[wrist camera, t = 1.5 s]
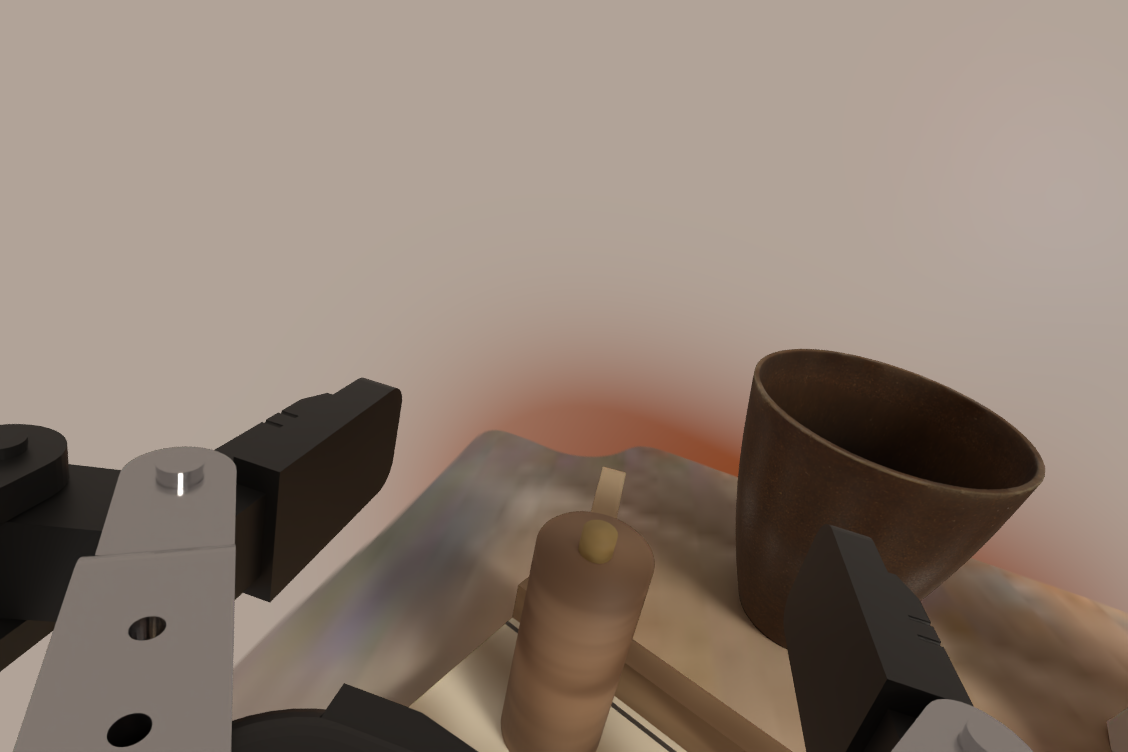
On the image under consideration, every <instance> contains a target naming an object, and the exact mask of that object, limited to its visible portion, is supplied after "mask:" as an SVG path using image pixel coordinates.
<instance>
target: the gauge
mask: <svg viewBox="0 0 1128 752" xmlns="http://www.w3.org/2000/svg"><path fill="white" fill-rule="evenodd" d="M625 475H626V473H625V472H621V471H618V470H614V469H610V468H606V467H603V468H602V472H601V476H600V480H599V483H598V487H597V491H596V494H595V498H594V502H593V506H592V509H591V512H584V511H580V512H569V513H565V514H562V515H559V516H556V517H554V518H552V519H551V520H549V521H548V522H547V523H546V524H545V525H544V526H543V527H542V528H541V530H540V531H539V533H538V536H537V540H536V545H535V550H534V555H533V560H532V565H531V570H530V575H529V580H528V585H527V590H526V595H525V600H524V605H523V610H522V615H521V620H520V625H519V630H518V635H517V640H516V645H515V650H514V655H513V660H512V665H511V670H510V675H509V680H508V685H507V690H506V695H505V700H504V705H503V711H502V716H501V732H502V737H503V740H504V743H505V745H506V747H507V749H508V750H509V752H596V751H597V748H598V745H599V742H600V739H601V736H602V733H603V730H604V726H605V723H606V720H607V717H608V714H609V711H610V708H611V704H612V701H613V698H614V695H615V692H616V689H617V686H618V682H619V679H620V676H621V673H622V670H623V667H624V664H625V660H626V657H627V654H628V651H629V648H630V645H631V642H632V638H633V635H634V632H635V629H636V626H637V623H638V620H639V616H640V613H641V610H642V607H643V604H644V601H645V598H646V594H647V591H648V588H649V585H650V582H651V579H652V576H653V572H654V565H655V562H654V556H653V553H652V551H651V549H650V547H649V545H648V543H647V542H646V541H645V539H644V538H643V537H642V536H641V535H640V534H639V533H638V532H637V531H636V530H634V529H633V528H632V527H630V526H629V525H627V524H626V523H624V522H622V521H620V520H618V519H617V514H618V509H619V504H620V499H621V494H622V490H623V485H624V480H625Z"/></svg>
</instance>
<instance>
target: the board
mask: <svg viewBox="0 0 1128 752" xmlns="http://www.w3.org/2000/svg"><path fill="white" fill-rule="evenodd" d="M528 580H529V577H528V578H526V579H525V580H524V581H523V582H522V583H520V584H519V585H518V591H517V596H516V601H515V606H514V612H513V617H512V618H511V619H510V620H509V621H507V622H506V623H505V624H504V625H503V626H502V627H501V628H500V629H498V630H497V631H496V632H495V633H494V634H493V635H491V636H490V637H489V638H488V639H487V640H486V641H485V642H483V643H482V644H481V645H480V646H479V647H478V648H476V649H475V650H474V651H473V652H472V653H471V654H469V655H468V656H467V657H466V658H465V659H464V660H463V661H461V662H460V663H459V664H458V665H457V666H456V667H454V668H453V669H452V670H451V671H450V672H449V673H447V674H446V675H445V676H444V677H443V678H442V679H441V680H439V681H438V682H437V683H436V684H435V685H434V686H432V687H431V688H430V689H429V690H428V691H427V692H425V693H424V694H423V695H422V696H421V697H420V698H419V699H417V700H416V701H415V702H414V703H413V704H412V705H410V706H409V708H411V709H414V710H417V711H419V712H422V713H423V714H425V715H426V716H428V717H429V718H431V719H432V720H434V721H435V722H436V723H438V724H439V725H441V726H442V727H444V728H445V729H446V730H448V731H449V732H451V733H452V734H454V735H455V736H457V737H458V738H459V739H461V740H462V741H464V742H465V743H467V744H468V745H469V746H471V747H472V748H474V749H475V750H477V751H478V752H509V750H508V749H507V747H506V745H505V743H504V740H503V737H502V732H501V716H502V711H503V705H504V700H505V695H506V690H507V685H508V680H509V675H510V670H511V665H512V660H513V655H514V650H515V645H516V640H517V635H518V630H519V625H520V620H521V615H522V610H523V605H524V600H525V595H526V590H527V585H528ZM596 752H792V751H791V750H789V749H788V748H786V747H785V746H784V745H782V744H781V743H779V742H778V741H777V740H775V739H774V738H772V737H771V736H769V735H768V734H767V733H765V732H764V731H762V730H761V729H759V728H758V727H757V726H755V725H754V724H752V723H751V722H750V721H748V720H747V719H745V718H744V717H742V716H741V715H740V714H738V713H737V712H735V711H734V710H732V709H731V708H730V707H728V706H727V705H725V704H724V703H723V702H721V701H720V700H718V699H717V698H715V697H714V696H713V695H711V694H710V693H708V692H707V691H705V690H704V689H703V688H701V687H700V686H698V685H697V684H696V683H694V682H693V681H691V680H690V679H688V678H687V677H686V676H684V675H683V674H681V673H680V672H679V671H677V670H676V669H674V668H673V667H671V666H670V665H669V664H667V663H666V662H664V661H663V660H661V659H660V658H659V657H657V656H656V655H654V654H653V653H652V652H650V651H649V650H647V649H646V648H644V647H643V646H642V645H640V644H639V643H637V642H636V641H634V640H633V639H632V642H631V645H630V648H629V651H628V654H627V657H626V660H625V664H624V667H623V670H622V673H621V676H620V679H619V682H618V686H617V689H616V692H615V695H614V698H613V701H612V704H611V708H610V711H609V714H608V717H607V720H606V723H605V726H604V730H603V733H602V736H601V739H600V742H599V745H598V748H597V751H596Z"/></svg>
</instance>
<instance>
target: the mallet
mask: <svg viewBox="0 0 1128 752" xmlns="http://www.w3.org/2000/svg"><path fill="white" fill-rule="evenodd" d="M1107 727H1108V734H1109V740H1110V746H1111V750H1112V752H1128V708H1126V709H1125V710H1123V711H1122V712H1121V713H1119V714H1118V715H1116V716H1114V717H1112V718H1111V719H1109V720H1107Z"/></svg>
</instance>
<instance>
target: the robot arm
mask: <svg viewBox="0 0 1128 752" xmlns="http://www.w3.org/2000/svg"><path fill="white" fill-rule="evenodd" d="M401 404H402V394H401V391H400V390H399V389H398V388H394V387H391V386H388V385H385V384H382V383H378V382H375V381H372V380H369V379H366V378H360V379H357V380H356V381H354V382H353V383H351V384H349V385H348V386H346V387H345V388H343V389H341V390H340V391H338V392H337V393H335V394H333V395H332V394H329V393H325V394H321V395H317V396H313V397H309V398H305V399H301V400H299V401H297V402H296V403H294V404H292V405H291V406H289V407H287V408H286V409H284V410H282V412H281V414H280V413H277V414H275V415H274V416H272V417H270V418H268V419H267V420H266V422H265V423H263V422H261V423H260V424H258V425H256V426H255V427H253V428H251V429H250V430H248V431H246V432H244V433H243V434H241V435H239V436H238V437H236V438H234V439H233V440H231V441H229V442H227V443H226V444H224V445H222V446H220V447H219V448H217V449H215V450H210V449H206V448H199V447H172V448H165V449H160V450H155V451H152V452H149V453H146V454H143V455H141V456H139V457H137V458H135V459H133V460H131V461H130V462H129V463H128V464H126V465H125V466H124V467H123V469H122V470H114V469H105V468H96V467H88V466H79V465H71V464H68V451H67V441H66V439H65V437H64V436H63V435H62V434H60V433H59V432H57V431H55V430H52V429H49V428H45V427H41V426H35V425H25V424H24V425H23V424H8V425H7V424H6V425H0V671H2V670H3V669H4V668H6V667H7V666H8V665H9V664H11V663H12V662H13V661H15V660H16V659H17V658H18V657H20V656H21V655H22V654H24V653H25V652H26V651H27V650H29V649H30V648H31V647H32V646H34V645H35V644H36V643H38V642H39V641H40V640H41V639H43V638H44V637H45V636H47V635H48V634H49V633H50V632H52V631H53V633H52V636H51V639H50V642H49V645H48V649H47V651H46V654H45V657H44V660H43V664H42V666H41V670H40V672H39V675H38V679H37V681H36V684H35V687H34V690H33V693H32V696H31V699H30V702H29V705H28V708H27V711H26V714H25V717H24V720H23V723H22V726H21V729H20V732H19V735H18V738H17V741H16V744H15V747H14V750H13V752H478V751H477V750H475V749H474V748H472V747H471V746H469V745H468V744H467V743H465V742H464V741H462V740H461V739H459V738H458V737H457V736H455V735H454V734H452V733H451V732H449V731H448V730H446V729H445V728H444V727H442V726H441V725H439V724H438V723H436V722H435V721H434V720H432V719H431V718H429V717H428V716H426V715H425V714H423V713H422V712H419V711H417V710H414V709H411V708H409V707H406V706H403V705H401V704H398V703H395V702H393V701H390V700H387V699H385V698H382V697H379V696H377V695H374V694H371V693H369V692H366V691H363V690H361V689H358V688H355V687H353V686H350V685H347V684H345V683H344V684H343V686H342V687H341V689H340V690H339V692H338V693H337V694H336V696H335V697H334V699H333V700H332V702H331V703H330V705H329V706H328V708H327V709H326V710H325V709H286V710H277V711H270V712H265V713H260V714H255V715H251V716H247V717H243V718H240V719H237V720H234V721H232V690H233V646H234V645H233V644H234V601H235V599H236V598H237V597H239V596H240V595H241V594H242V593H245V594H248V595H251V596H254V597H256V598H259V599H262V600H265V601H268V602H271V601H272V600H273V598H275V597H276V595H278V594H279V593H280V592H281V591H282V590H283V589H284V588H285V587H286V586H287V584H288V583H290V581H292V579H294V577H295V576H296V575H297V574H298V573H299V572H300V571H301V570H302V569H303V568H304V567H305V566H306V565H307V564H308V563H309V562H310V561H311V560H312V559H313V558H314V557H315V556H316V555H317V554H318V553H319V552H320V551H321V550H322V549H323V548H324V547H325V546H326V545H327V544H328V543H329V542H330V541H331V540H332V539H333V538H334V537H335V536H336V535H337V534H338V533H339V532H340V531H341V530H342V529H343V527H345V526H346V525H347V524H348V523H349V522H350V521H351V520H352V519H353V517H354V516H356V514H357V513H358V512H360V511H361V509H362V508H363V507H364V506H365V505H366V504H367V503H368V502H369V501H370V500H371V499H372V498H373V497H374V496H375V495H376V494H377V493H378V492H379V491H380V490H381V488H382V487H383V485H384V484H385V482H386V479H387V477H388V475H389V473H390V469H391V466H392V462H393V457H394V449H395V444H396V437H397V430H398V423H399V417H400V410H401ZM930 623H931V622H930V620H929V618H928V616H927V614H926V612H925V610H924V608H923V606H922V604H921V602H920V600H919V598H918V597H917V596H916V595H915V594H914V593H913V592H912V591H911V590H910V589H909V588H908V587H907V586H906V585H905V584H904V583H903V582H902V580H901V579H900V578H899V577H898V576H897V575H895V574H892V573H889V572H888V571H887V569H886V567H885V565H884V563H883V561H882V559H881V556H880V554H879V552H878V550H877V548H876V546H875V544H874V541H873V540H872V539H871V538H870V537H868V536H864V535H861V534H858V533H855V532H852V531H849V530H845V529H842V528H839V527H836V526H833V525H829V524H825V525H823V526H822V527H821V528H820V529H819V531H818V532H817V534H816V536H815V538H814V540H813V542H812V545H811V547H810V549H809V551H808V553H807V555H806V558H805V560H804V562H803V564H802V566H801V568H800V570H799V573H798V575H797V577H796V579H795V581H794V583H793V586H792V588H791V590H790V592H789V595H788V598H787V601H786V605H785V610H784V620H783V625H784V633H785V638H786V644H787V649H788V655H789V660H790V665H791V671H792V676H793V682H794V687H795V693H796V698H797V703H798V709H799V714H800V720H801V725H802V731H803V736H804V741H805V747H806V752H1033V751H1032V750H1031V748H1030V747H1029V746H1028V745H1027V744H1026V743H1025V742H1024V741H1023V740H1022V739H1021V738H1019V737H1018V736H1017V735H1016V734H1015V733H1014V732H1013V731H1011V730H1010V729H1009V728H1007V727H1006V726H1005V725H1004V724H1002V723H1001V722H999V721H998V720H996V719H995V718H993V717H992V716H990V715H988V714H987V713H985V712H983V711H981V710H979V709H977V708H975V707H974V706H973V704H972V702H971V700H970V698H969V696H968V694H967V692H966V690H965V688H964V686H963V684H962V682H961V680H960V679H959V677H958V675H957V673H956V671H955V669H954V667H953V665H952V663H951V661H950V659H949V657H948V655H947V653H946V651H945V649H944V647H941V646H940V643H941V641H940V639H939V637H938V635H937V633H936V631H935V630H934V628H933V627H932V626H930Z"/></svg>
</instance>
